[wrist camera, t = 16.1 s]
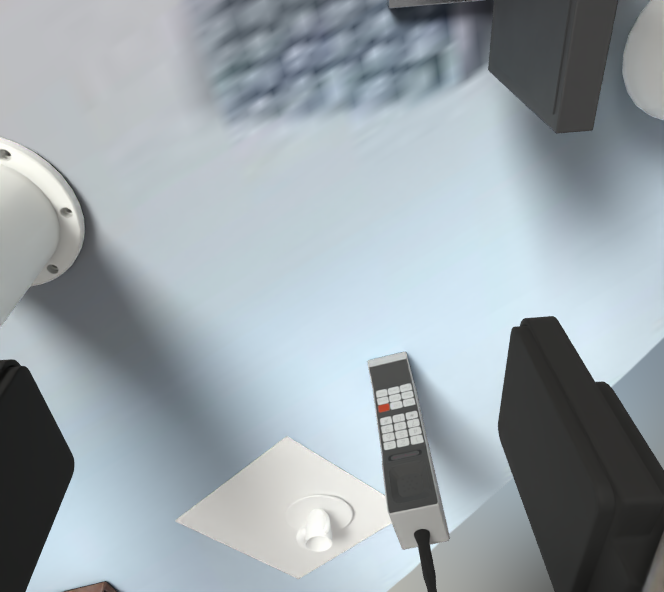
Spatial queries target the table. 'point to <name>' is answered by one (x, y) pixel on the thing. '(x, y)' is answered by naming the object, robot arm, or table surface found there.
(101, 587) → the letter holder
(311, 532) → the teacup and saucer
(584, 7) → the monitor
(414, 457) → the vintage mobile phone
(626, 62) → the flower vase
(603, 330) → the table surface
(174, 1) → the table surface
